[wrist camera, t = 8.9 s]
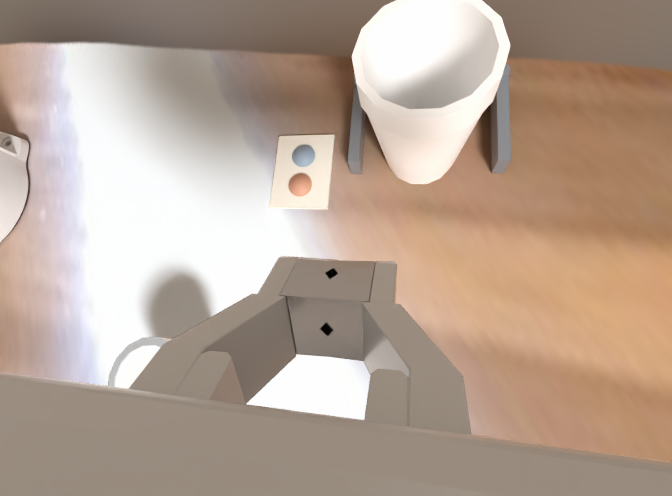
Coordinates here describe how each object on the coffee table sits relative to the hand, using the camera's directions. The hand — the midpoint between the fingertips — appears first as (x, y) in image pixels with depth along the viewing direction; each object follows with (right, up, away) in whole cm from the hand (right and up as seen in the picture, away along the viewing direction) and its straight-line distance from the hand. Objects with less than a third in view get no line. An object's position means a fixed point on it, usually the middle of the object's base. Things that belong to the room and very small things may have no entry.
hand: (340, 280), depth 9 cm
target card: (-3, +9, +27) cm, 29 cm away
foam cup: (+8, +10, +25) cm, 28 cm away
